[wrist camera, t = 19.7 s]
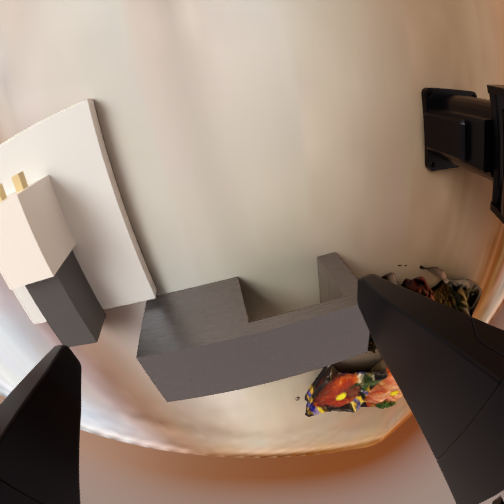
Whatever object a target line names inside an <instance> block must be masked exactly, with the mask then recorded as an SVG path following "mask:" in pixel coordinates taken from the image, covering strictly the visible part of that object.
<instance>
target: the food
mask: <svg viewBox="0 0 504 504" xmlns="http://www.w3.org/2000/svg"><path fill="white" fill-rule="evenodd" d="M398 266H402V265H398ZM405 266H407V265H405ZM420 268H421V269H427V270H429V271H431V272H432V273H434V274H436V275H437V276H439V277H440V278H442V279H443V280H442V281H440V282H439V283H438V284H437V285H436V286H434V287H433V288H431V289H430V288H429V287H428V286H427V282H426V280H425V279H424V278H423V277H416V278H415V279H413V280H409V279H405V280H404V282H403V284H402V285H401V286H402V287H404V288H407V289H409V290H411V291H414V292H416V293H418V294H421V295H423V296H425V297H428V298H430V299H432V300H435V301H437V302H439V303H441V304H444V305H446V306H448V307H451V308H453V309H455V310H457V311H460V312H462V313H464V314H466V315H469V316H470V317H472V314H473V312H474V310H475V308H476V306H477V304H478V301H479V299H480V296H481V294H482V290H481V288H480V286H479V285H478V284H477V283H476V282H474V281H471V280H467V279H459V280H454V279H451V280H448V279H447V276H446V274H445V272H444V270H441V269H439V268H437V267H431V268H424V267H423V266H420ZM381 278H383V279H385V280H388V281H390V282H393V283H395V284H397V282H396V276H395V274H394V273H389V274H386V275H384V276H383V277H381ZM397 285H398V284H397ZM375 349H377V347H376V345H375V343H374V341H373V338H372V336H371V334H370V333H369V342H368V351H372V352H374V353H376V352H375ZM401 397H403V394H402V392H401V390H400V389H399V387H398V385H397V383H396V381H395V379H394V378H393V376H392V374H391V372H390V371H389V369H388V367H387V365H386V364H385V362H384V360H383V358H382V359H381V360H380V361H379V362H377V363H376V364H375V365H374V367H372V368H371V369H370V371H369V372H357V373H356V372H355V373H354V374H348V373H340V372H338V371H337V370H336V368H335V367H334V366H333V364H332V365H329V366H325V367H324V368H323V370H322V371H321V373H320V374H319V375H318V377H317V378H316V380H315V381H314V382H313V384H312V385H311V386H310V388H309V390H308V392H307V394H306V395H305V401H307V405H306V413H305V415H307V416H308V417H310V416H315V415H317V414H320V413H323V412H326V411H330V412H331V411H332V410H333V411H347V412H356V411H357V410H359V407H372V406H376V407H378V408H382V409H383V408H385V407H386V408H387V407H390V406H393V405H395V404H396V401H397V400H398V399H400V398H401ZM296 398H299V399H300V397H296ZM299 399H297V400H299ZM297 400H296V401H297Z"/></svg>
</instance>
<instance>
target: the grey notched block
mask: <svg viewBox="0 0 504 504" xmlns="http://www.w3.org/2000/svg"><path fill="white" fill-rule="evenodd" d="M317 261H318V274H319V288H320V304H317V305H314V306H310V307H307V308H303V309H300V310H296V311H292V312H289V313H285V314H281V315H277V316H273V317H269V318H266V319H262V320H258V321H254V322H250V321H249V318H248V314H247V310H246V306H245V302H244V298H243V295H242V291H241V287H240V283H239V279H238V277H235V278H231V279H227V280H223V281H219V282H215V283H211V284H206V285H202V286H198V287H194V288H189V289H185V290H181V291H177V292H172V293H168V294H164V295H159V296H156V298H155V299H150V300H147V302H146V307H145V312H144V317H143V322H142V328H141V333H140V339H139V345H138V351H137V357H136V358H137V359H138V361H139V362H140V364H141V365H142V367H143V368H144V370H145V371H146V373H147V374H148V376H149V377H150V379H151V380H152V381H153V383H154V384H155V386H156V387H157V389H158V390H159V391H160V393H161V394H162V395H163V397H164V398H165V399H166V401H167V402H170V401H177V400H184V399H190V398H197V397H202V396H208V395H213V394H219V393H224V392H229V391H234V390H238V389H243V388H247V387H252V386H256V385H260V384H265V383H269V382H273V381H276V380H280V379H284V378H288V377H292V376H295V375H299V374H302V373H306V372H309V371H312V370H316V369H319V368H322V367H325V366H329V365H332V364H335V363H338V362H341V361H344V360H347V359H350V358H353V357H355V356H358V355H361V354H364V353H367V350H368V342H369V333H370V332H369V329H368V327H367V325H366V322H365V320H364V318H363V316H362V314H361V311H360V309H359V307H358V303H357V284H358V280H357V278H356V277H355V276H354V274H353V273H352V272H351V271H350V269H349V268H348V267H347V266H346V264H345V263H344V262H343V261H342V259H341V258H340V257H339V256H338V254H337V253H336V252H334V253H331V254H327V255H323V256H319V257H317Z"/></svg>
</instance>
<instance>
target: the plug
mask: <svg viewBox="0 0 504 504" xmlns="http://www.w3.org/2000/svg"><path fill="white" fill-rule="evenodd" d="M11 178H12V181H13V184H14V187H15V190H16V191H15V192H13V193H11V194H9V195H8V196H6V193H5V191H4V188H3V185H2V183H1V184H0V272H1V274H2V276H3V278H4V280H5V282H6V283H7V285H8V287H9V289H10V290H12V289H15V288H18V287H21V286H24V285H25V287H26V288H27V290H28V292H29V294H30V295H31V297H32V299H33V300H34V302H35V304H36V305H37V307H38V308H39V310H40V312H41V313H42V315H43V316H44V318H45V319H46V321H47V322H48V324H49V325H50V327H51V328H52V330H53V331H54V333H55V334H56V336H57V337H58V338H59V340H60V341H61V343H62V344H63V345H67V346H68V347H72V346H78V345H84V344H90V343H96V342H97V341H98V338H99V335H100V332H101V328H102V325H103V322H104V319H105V316H106V314H105V312H104V310H103V308H102V307H101V305H100V303H99V301H98V300H97V298H96V296H95V294H94V292H93V290H92V288H91V287H90V285H89V283H88V281H87V279H86V277H85V275H84V273H83V271H82V269H81V267H80V265H79V263H78V261H77V259H76V257H75V255H74V252H73V250H72V249H73V248H74V246H75V245H76V242H75V240H74V238H73V236H72V233H71V231H70V229H69V226H68V224H67V222H66V219H65V217H64V214H63V212H62V209H61V207H60V204H59V201H58V199H57V196H56V193H55V191H54V188H53V185H52V182H51V179H50V176H49V175H47V176H45V177H43V178H41V179H39V180H37V181H35V182H33V183H31V184H29V185H28V184H27V181H26V178H25V175H24V172H23V171H22V172H20V173H18V174H16V175H15V176H13V177H11Z"/></svg>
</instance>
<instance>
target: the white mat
mask: <svg viewBox="0 0 504 504" xmlns="http://www.w3.org/2000/svg"><path fill="white" fill-rule="evenodd" d="M22 171H23V172H24V175H25V178H26V181H27V184H28V185H29V184H31V183H33V182H35V181H37V180H39V179H41V178H43V177H45V176H47V175H49V176H50V179H51V182H52V185H53V188H54V191H55V193H56V196H57V199H58V201H59V204H60V207H61V209H62V212H63V214H64V217H65V219H66V222H67V224H68V226H69V229H70V231H71V233H72V236H73V238H74V240H75V242H76V245H75V246H74V248H73V249H72V250H73V252H74V255H75V257H76V259H77V261H78V263H79V265H80V267H81V269H82V271H83V273H84V275H85V277H86V279H87V281H88V283H89V285H90V287H91V288H92V290H93V292H94V294H95V296H96V298H97V300H98V301H99V303H100V305H101V307H102V308H103V310H105V309H110V308H114V307H119V306H123V305H128V304H132V303H137V302H141V301H146V300H150V299H155V298H156V293H157V289H156V287H155V284H154V282H153V280H152V277H151V275H150V272H149V270H148V268H147V265H146V263H145V260H144V258H143V255H142V253H141V250H140V248H139V245H138V243H137V240H136V237H135V235H134V232H133V229H132V227H131V224H130V221H129V218H128V216H127V213H126V210H125V207H124V204H123V201H122V198H121V195H120V192H119V189H118V186H117V183H116V180H115V177H114V174H113V171H112V168H111V164H110V161H109V158H108V154H107V151H106V147H105V144H104V140H103V137H102V133H101V129H100V126H99V122H98V118H97V114H96V110H95V106H94V101H93V99H86V100H83V101H81V102H79V103H76V104H74V105H72V106H70V107H68V108H66V109H63V110H61V111H59V112H57V113H55V114H53V115H51V116H49V117H47V118H45V119H43V120H41V121H40V122H38V123H36V124H34V125H32V126H30V127H29V128H27V129H25V130H23V131H22V132H20V133H18V134H16V135H15V136H13V137H11V138H10V139H8V140H7V141H5V142H3V143H2V144H0V184H1V183H2V185H3V188H4V191H5V193H6V196H8V195H9V194H11V193H13V192H15V191H16V190H15V187H14V184H13V181H12V178H11V177H13V176H15V175H16V174H18V173H20V172H22ZM12 290H13V292H14V293H15V295H16V297H17V298H18V300H19V302H20V303H21V305H22V307H23V308H24V310H25V312H26V313H27V315H28V316H29V318H30V319H31V321H32V322H33V324H37V323H42V322H47V321H46V319H45V318H44V316H43V315H42V313H41V312H40V310H39V308H38V307H37V305H36V304H35V302H34V300H33V299H32V297H31V295H30V294H29V292H28V290H27V288H26V287H25V285H24V286H21V287H18V288H15V289H12Z"/></svg>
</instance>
